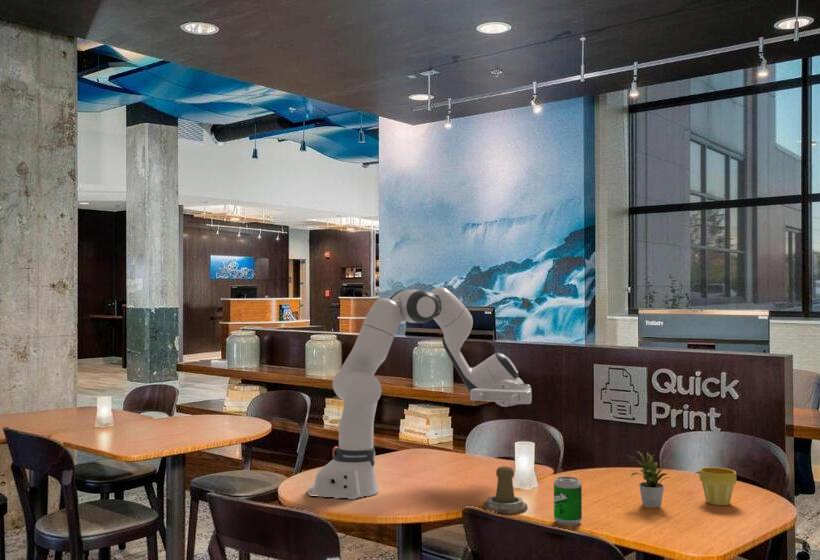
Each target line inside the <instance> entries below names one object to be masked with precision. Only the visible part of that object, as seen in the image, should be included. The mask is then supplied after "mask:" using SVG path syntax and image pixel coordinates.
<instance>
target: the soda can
mask: <svg viewBox="0 0 820 560" xmlns="http://www.w3.org/2000/svg"><path fill="white" fill-rule="evenodd" d="M582 496H583V494H582V482H581V481H580V480H579V479H578V478H577V477H574V476H559V477H558V476H557V478H556V479H555V480H554V481H553V519H554V521H556V523H557V524H558V525H561V526H566V527H568V526H569V527H571V526H572V527H573V526H578V525H580V524H579V523H581V521H582V519H583V518H582V517H583V515H582V514H583V513H582V512H583V511H582V510H583V509H582V505H583V502H582V501H583V500H582Z"/></svg>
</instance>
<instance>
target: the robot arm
mask: <svg viewBox="0 0 820 560" xmlns="http://www.w3.org/2000/svg"><path fill="white" fill-rule="evenodd" d="M432 320H434V321H435V323H436V324H437V325H438V326H439V328H440V330H441V331H442V333H443V336H442V340H441V341H442V345H443V348H444V350H445V352H446V354H447V356H448V358H449V359H450V361H451V363H452V364H453V367H454V368H455V370H456V371H457V373H458V374H459V376H460V378H461V380H462V383H463V385H464V387H465V389H466V391H467V392H468V393H469V398H470V401H476V402H494V403H495V404H497V405H498V406H499V407H504V408H507V407H513V406H517V405H519V406H520V405H530V404H532V398H533V397H532V387H531V385H530V384H527V383H524V381H523V380H522V379H521V378H520V377H519V371H518V367H517V366H516V364H515V363H514V361H513V360H512V359H511V357H509V356H508V355H507V354H504V353H501V352H495V353H493V354H492V355H491V356H489V357H488V358H486V359H485V360H484V361H481V362H480V363H478V364H476V366H474V367H470V365H469V364H468V362H467V361H466V358H465V357H464V355H463V354H462V352H461V348H462V347H463V345H464V343H465V342H466V340H467V339H468V337H469V336H470V334H471V331H472V330H473V329H472V328H473V325H474V319H473V315H472V314H471V312H470V311H469V309H468V308H467V307H466V305H464V303H463V302H462V301H461V300H460V299H459V298H458V297H457V296H456V295H455V294H453V292H451V291H450V290H449V289H448V288H446V287H442V286H439V287H436V288H433V289H431V291H427V290H421V289H415V288H409V289H401V290H398V291H397V292H395V293H394V294H392V296H391V297H390V298H388V297H387V298H386V297H382V298H381V297H380V298H378V299H376V300H375V301H374V302H373V304H372V305H371V307H370V309H369V311H368V312H367V315H366V316H365V318H364V320H363V323H362V326H361V328H360V330H359V332H358V336H357V338H356V340H355V342H354V345H353V347H352V349H351V351H350V353H349V354H348V356H347V358H346V359H345V361H344V363H343V364H342V365H341V367H340V369H339V370H338V371H337V373H336V374H335V375H334V377H333V378H332V389H333V392H334V393H335V394H336V396H337V397H338V398H339V399H340V400H342V401H343V407H342V408H343V410H342V414H341V418H340V420H339V422H338V446H337V445H335V446H334V447H333V448H332V453H331V454H332V460H330V461H329V462H328V463H327V464H325V465H324V466H323V467H321V468H320V469H319V470H318V471H317V473H316V475H315V479H314V484H313V485H310V486H309V487H308V489H307V492H308V493H309V494H310V495H318V496H325V497H334V498H333V499H339V498H348V499H347V500H357V499H356V498H358V499H360V498H359V497H361V498H364V496H366V497H370V496H373V495H377V494H378V493H379V488H378V484H377V479H376V472H375V463H376V451H375V450H376V448H375V446H374V423H375V417H376V416H375V415H376V411H377V406H378V401H379V400H380V398H381V397H382V396H381V395H382V391H383V390H382V385H381V383H380V381H379V379H378V378H377V377H376V376H375V373H376V372H377V370H378V369H379V368H380V366H381V365H382V364H383V363H384V362H385V361H386V358H387V356H388V354H389V351H390V349H391V346H392V343H393V341H394V338H395V336H396V333H397V330H398V328H399V326H400V325H401V324H402V322H407V323H411V324H424V323H427V322H430V321H432Z"/></svg>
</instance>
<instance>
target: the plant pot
mask: <svg viewBox="0 0 820 560" xmlns="http://www.w3.org/2000/svg"><path fill="white" fill-rule="evenodd" d="M698 476H699V481H700V482H701V484H702V488H703V493H704V497H705V502H706V503H708V504H709V505H712V506H713V505H714V506H720V505H721V506H723V505H725V506H729V505H730V504H731V499H732V494H733V490H734V487H735V485H736V484H737V472H736V471H735V470H734V469H730V468H729V469H728V468H723V467H716V466H715V467H712V466H711V467H710V466H709V467H707V466H706V467H702V468H700V469H699V473H698ZM721 506H720V507H721ZM723 507H724V506H723Z"/></svg>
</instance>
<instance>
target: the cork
mask: <svg viewBox="0 0 820 560" xmlns="http://www.w3.org/2000/svg"><path fill="white" fill-rule="evenodd" d="M514 471H515V470H514V469H513V468H512V467H510V466H505V465H504V466H499V467H497V469H496V471H495V473H496V478H497V483H496V492H495V496H496V499H495V502H498V503H515V498H514V496H515V491H514V485H513V478H514V475H515V472H514Z"/></svg>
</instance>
